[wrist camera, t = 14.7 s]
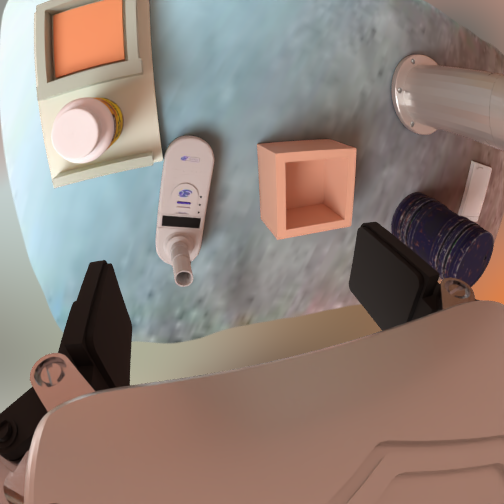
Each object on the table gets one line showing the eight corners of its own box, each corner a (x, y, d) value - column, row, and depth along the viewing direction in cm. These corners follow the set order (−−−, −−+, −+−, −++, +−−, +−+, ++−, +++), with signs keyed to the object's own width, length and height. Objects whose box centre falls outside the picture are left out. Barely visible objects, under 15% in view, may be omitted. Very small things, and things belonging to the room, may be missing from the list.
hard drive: (475, 161, 44) (460, 221, 49) (492, 168, 46) (478, 222, 52) (469, 159, 45) (454, 218, 51) (487, 165, 47) (473, 219, 53)
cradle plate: (122, -1, 20) (121, -4, 19) (125, 60, 24) (124, 59, 23) (56, 17, 19) (53, 15, 18) (58, 78, 23) (55, 77, 22)
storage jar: (386, 250, 48) (446, 301, 35) (393, 195, 43) (465, 239, 30) (425, 238, 50) (482, 281, 37) (434, 188, 45) (500, 225, 32)
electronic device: (234, 150, 24) (208, 302, 30) (214, 138, 32) (195, 257, 39) (169, 142, 22) (154, 301, 28) (167, 132, 31) (154, 254, 37)
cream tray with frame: (148, -16, 21) (148, -27, 18) (163, 159, 31) (163, 165, 29) (36, 14, 18) (26, 8, 15) (55, 183, 29) (46, 192, 26)
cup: (329, 139, 36) (356, 148, 31) (327, 207, 40) (351, 226, 35) (257, 143, 34) (275, 153, 29) (260, 218, 38) (277, 239, 33)
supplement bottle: (131, 137, 28) (118, 154, 20) (84, 156, 28) (55, 182, 19) (117, 89, 25) (97, 85, 17) (69, 109, 25) (32, 117, 16)
